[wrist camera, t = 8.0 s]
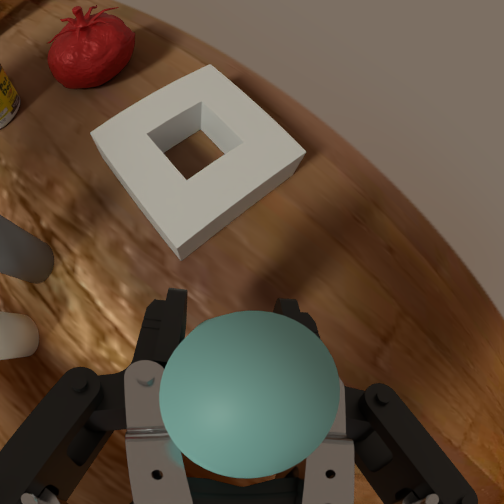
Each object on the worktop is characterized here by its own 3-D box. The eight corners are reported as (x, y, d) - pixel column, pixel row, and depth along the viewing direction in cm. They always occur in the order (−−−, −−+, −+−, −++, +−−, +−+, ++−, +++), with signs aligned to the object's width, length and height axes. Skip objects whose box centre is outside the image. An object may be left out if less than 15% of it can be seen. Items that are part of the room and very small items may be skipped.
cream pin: (22, 364, 18) (-11, 369, 14) (2, 329, 19) (-32, 327, 14) (46, 341, 19) (13, 343, 15) (25, 305, 20) (-9, 299, 15)
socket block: (181, 261, 23) (176, 248, 19) (102, 157, 24) (89, 132, 20) (292, 175, 26) (306, 151, 22) (208, 92, 27) (210, 64, 23)
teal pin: (216, 390, 16) (245, 504, 5) (174, 344, 16) (121, 388, 5) (262, 351, 17) (369, 396, 6) (222, 305, 17) (263, 272, 6)
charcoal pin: (32, 292, 20) (-25, 276, 12) (16, 259, 20) (-39, 233, 13) (60, 265, 21) (8, 239, 13) (42, 233, 21) (-8, 198, 14)
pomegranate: (102, 109, 25) (79, 41, 16) (42, 92, 24) (14, 37, 15) (155, 51, 28) (151, -13, 19) (93, 40, 27) (80, -15, 18)
